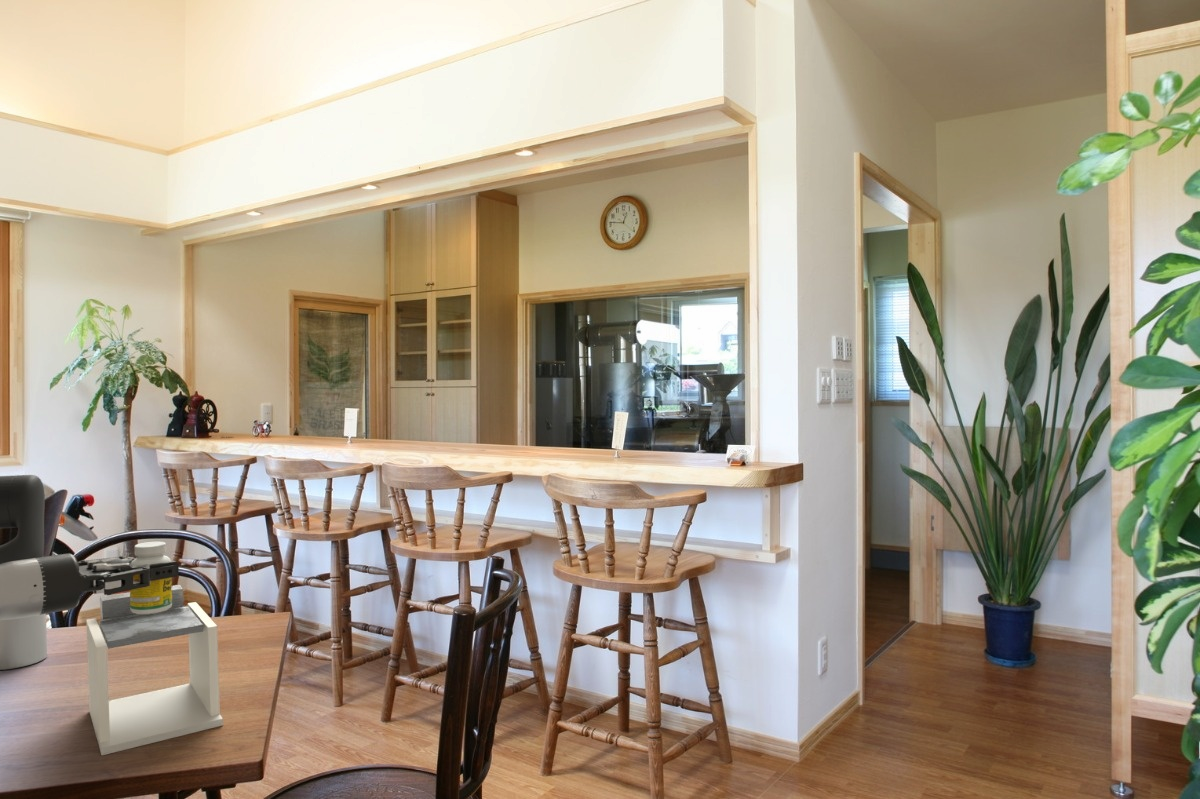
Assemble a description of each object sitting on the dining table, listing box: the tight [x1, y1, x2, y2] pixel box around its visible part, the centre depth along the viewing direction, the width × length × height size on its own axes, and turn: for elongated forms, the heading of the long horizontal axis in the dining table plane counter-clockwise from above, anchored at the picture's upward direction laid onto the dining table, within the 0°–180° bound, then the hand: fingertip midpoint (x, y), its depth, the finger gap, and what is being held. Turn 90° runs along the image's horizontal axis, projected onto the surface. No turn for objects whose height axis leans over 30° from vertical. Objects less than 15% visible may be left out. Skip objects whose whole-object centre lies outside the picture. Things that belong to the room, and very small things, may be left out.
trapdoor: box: [98, 584, 203, 650], centre depth 122 cm, size 16×12×4 cm
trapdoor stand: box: [85, 601, 224, 756], centre depth 120 cm, size 18×15×14 cm
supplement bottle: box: [129, 541, 173, 614], centre depth 118 cm, size 5×5×10 cm
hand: (169, 565), depth 120 cm, fingers closed on supplement bottle, 5 cm apart
